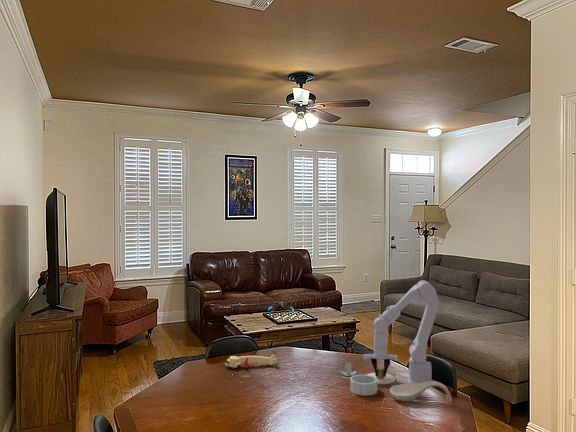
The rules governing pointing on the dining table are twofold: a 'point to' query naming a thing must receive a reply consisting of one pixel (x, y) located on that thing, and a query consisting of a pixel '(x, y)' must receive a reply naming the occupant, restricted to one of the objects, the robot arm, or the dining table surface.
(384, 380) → the lid
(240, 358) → the cream plush toy
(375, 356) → the robot arm
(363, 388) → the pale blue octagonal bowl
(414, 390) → the spoon rest
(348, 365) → the pacifier
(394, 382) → the mat
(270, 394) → the dining table surface
